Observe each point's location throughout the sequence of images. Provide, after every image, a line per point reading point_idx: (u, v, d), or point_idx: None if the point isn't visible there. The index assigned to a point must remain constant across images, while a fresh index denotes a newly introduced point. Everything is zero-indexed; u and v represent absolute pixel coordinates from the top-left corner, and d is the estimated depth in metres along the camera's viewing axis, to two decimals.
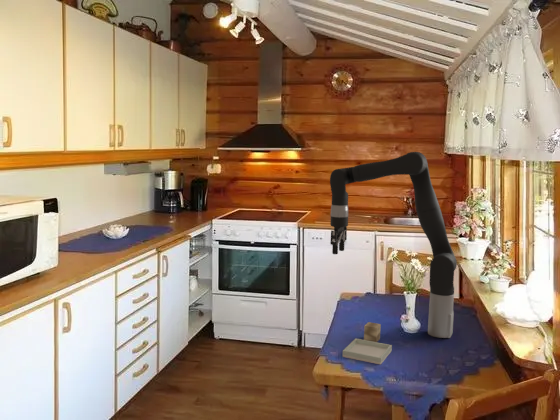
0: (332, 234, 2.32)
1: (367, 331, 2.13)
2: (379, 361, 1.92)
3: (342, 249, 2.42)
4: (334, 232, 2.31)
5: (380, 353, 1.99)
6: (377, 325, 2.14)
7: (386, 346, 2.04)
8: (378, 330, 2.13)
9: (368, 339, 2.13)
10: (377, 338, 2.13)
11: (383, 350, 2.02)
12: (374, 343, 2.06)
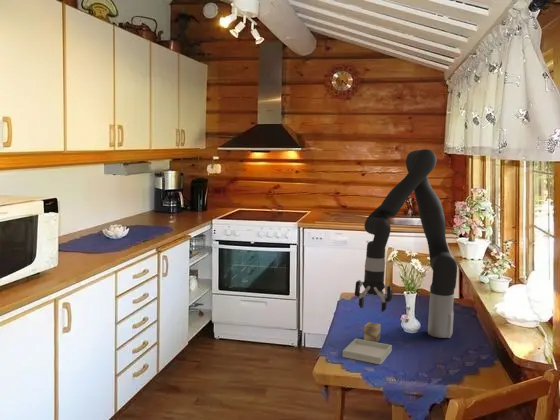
0: (390, 290, 2.09)
1: (366, 331, 2.13)
2: (379, 361, 1.92)
3: (363, 305, 2.16)
4: (391, 287, 2.10)
5: (380, 353, 1.99)
6: (377, 325, 2.14)
7: (386, 346, 2.04)
8: (378, 330, 2.13)
9: (368, 339, 2.13)
10: (377, 338, 2.13)
11: (383, 350, 2.02)
12: (374, 343, 2.06)
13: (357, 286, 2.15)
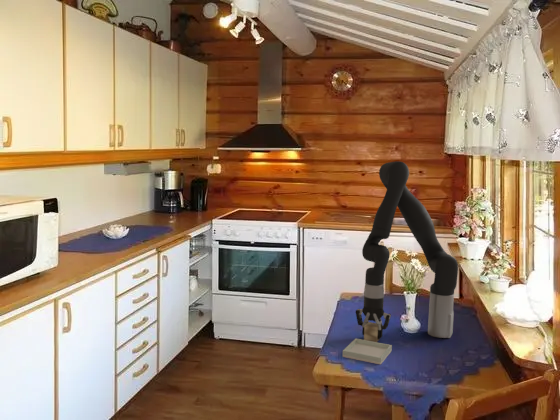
0: (389, 319, 2.11)
1: (367, 331, 2.13)
2: (379, 361, 1.92)
3: None
4: (390, 316, 2.11)
5: (380, 353, 1.99)
6: None
7: (386, 346, 2.04)
8: None
9: (368, 339, 2.13)
10: (377, 338, 2.13)
11: (383, 350, 2.02)
12: (374, 343, 2.06)
13: (358, 315, 2.16)
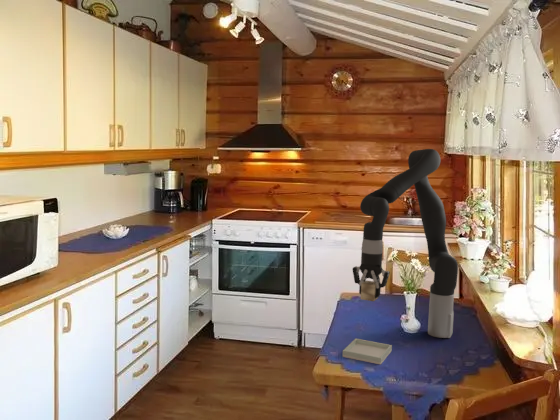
0: (387, 276, 1.99)
1: (364, 289, 2.02)
2: (379, 361, 1.92)
3: None
4: (388, 273, 2.00)
5: (380, 353, 1.99)
6: None
7: (386, 346, 2.04)
8: None
9: (365, 298, 2.02)
10: None
11: (383, 350, 2.02)
12: (374, 343, 2.06)
13: (355, 272, 2.04)
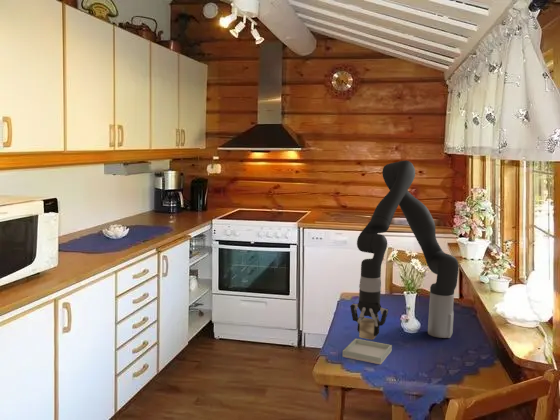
0: (386, 314, 1.95)
1: (362, 328, 1.98)
2: (379, 361, 1.92)
3: None
4: (387, 311, 1.96)
5: (380, 353, 1.99)
6: None
7: (386, 346, 2.04)
8: None
9: (364, 336, 1.98)
10: (373, 335, 1.98)
11: (383, 350, 2.02)
12: (374, 343, 2.06)
13: (353, 310, 2.00)
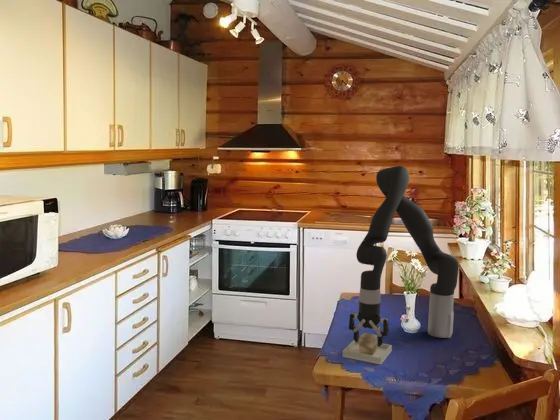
0: (387, 323, 1.96)
1: (362, 343, 1.98)
2: (379, 361, 1.92)
3: (358, 339, 2.02)
4: (387, 320, 1.96)
5: (380, 353, 1.99)
6: (373, 336, 1.99)
7: (386, 346, 2.04)
8: (374, 341, 1.99)
9: (364, 352, 1.99)
10: (373, 350, 1.98)
11: (383, 350, 2.02)
12: None
13: (351, 319, 2.01)
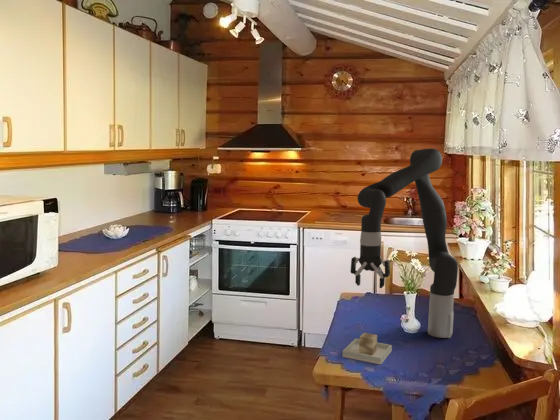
0: (388, 265, 1.99)
1: (362, 343, 1.98)
2: (379, 361, 1.92)
3: (359, 283, 2.06)
4: (388, 262, 2.00)
5: (380, 353, 1.99)
6: (373, 336, 1.99)
7: (386, 346, 2.04)
8: (374, 341, 1.99)
9: (364, 352, 1.99)
10: (373, 350, 1.98)
11: (383, 350, 2.02)
12: None
13: (353, 263, 2.04)
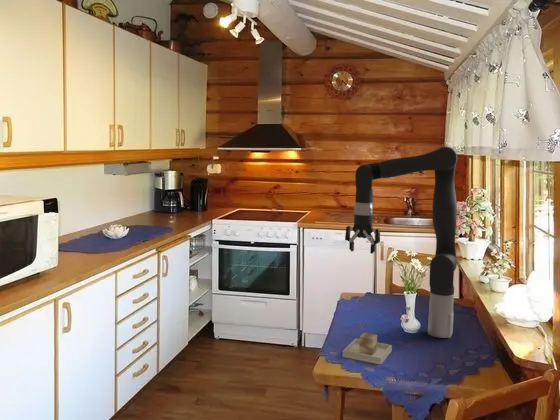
0: (378, 232, 2.24)
1: (362, 343, 1.98)
2: (379, 361, 1.92)
3: (353, 249, 2.30)
4: (379, 230, 2.24)
5: (380, 353, 1.99)
6: (373, 336, 1.99)
7: (386, 346, 2.04)
8: (374, 341, 1.99)
9: (364, 352, 1.99)
10: (373, 350, 1.98)
11: (383, 350, 2.02)
12: None
13: (347, 231, 2.29)
